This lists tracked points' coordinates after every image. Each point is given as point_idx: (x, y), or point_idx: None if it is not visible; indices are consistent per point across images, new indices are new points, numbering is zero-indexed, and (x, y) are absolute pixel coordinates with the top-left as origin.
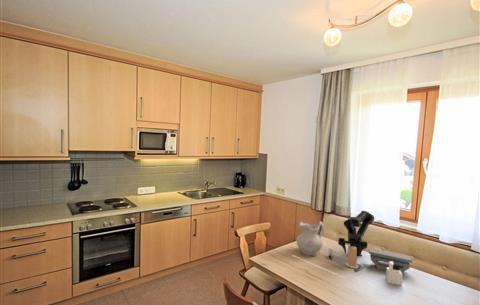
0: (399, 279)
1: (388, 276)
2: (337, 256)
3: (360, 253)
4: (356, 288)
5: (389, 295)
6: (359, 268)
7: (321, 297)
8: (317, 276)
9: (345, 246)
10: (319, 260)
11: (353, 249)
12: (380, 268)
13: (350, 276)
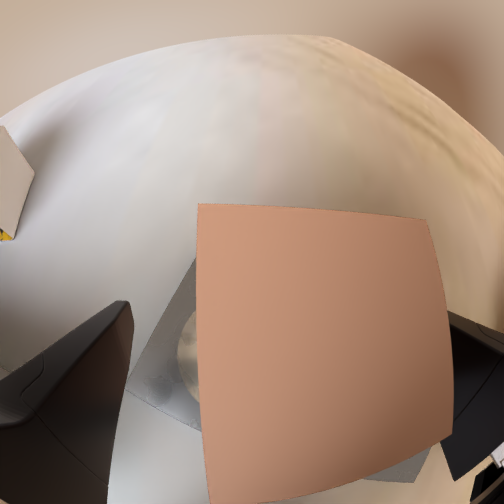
0: None
1: (15, 159)
2: (379, 475)
3: (104, 318)
4: (239, 71)
5: (103, 78)
6: (172, 302)
7: (344, 43)
8: (409, 123)
9: (488, 345)
10: (470, 314)
11: (309, 217)
12: (2, 371)
13: (265, 152)
